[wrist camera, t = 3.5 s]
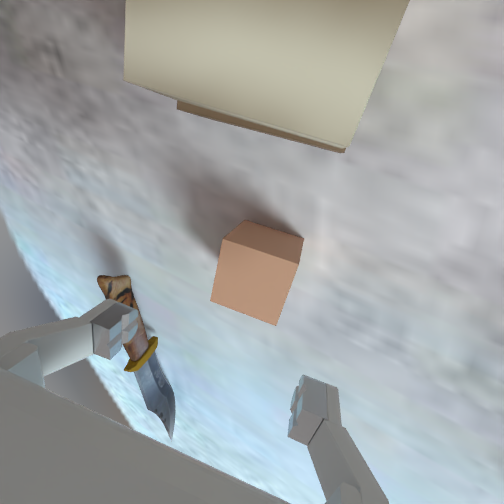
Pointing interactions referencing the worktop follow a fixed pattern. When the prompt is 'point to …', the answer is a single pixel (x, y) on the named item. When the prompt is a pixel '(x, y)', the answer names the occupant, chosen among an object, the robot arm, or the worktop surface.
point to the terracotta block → (256, 270)
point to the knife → (143, 355)
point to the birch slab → (265, 58)
